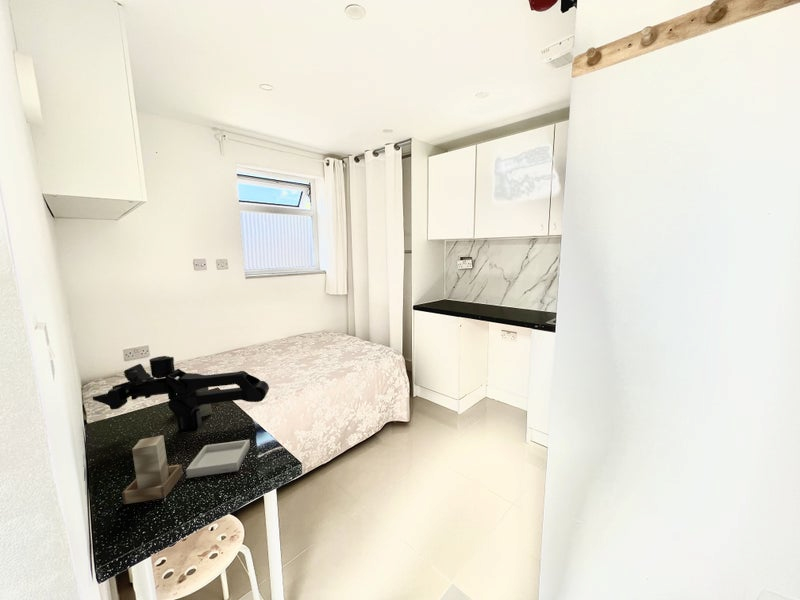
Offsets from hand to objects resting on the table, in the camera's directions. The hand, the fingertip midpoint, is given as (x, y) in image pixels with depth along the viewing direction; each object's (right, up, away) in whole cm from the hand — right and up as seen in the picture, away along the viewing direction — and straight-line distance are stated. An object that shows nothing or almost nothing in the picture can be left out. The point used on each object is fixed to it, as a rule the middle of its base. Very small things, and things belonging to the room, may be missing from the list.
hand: (103, 392), depth 108 cm
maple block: (+37, -18, -25) cm, 48 cm away
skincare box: (+24, -14, +18) cm, 33 cm away
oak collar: (+37, -18, -25) cm, 48 cm away
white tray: (+49, -16, -15) cm, 53 cm away
